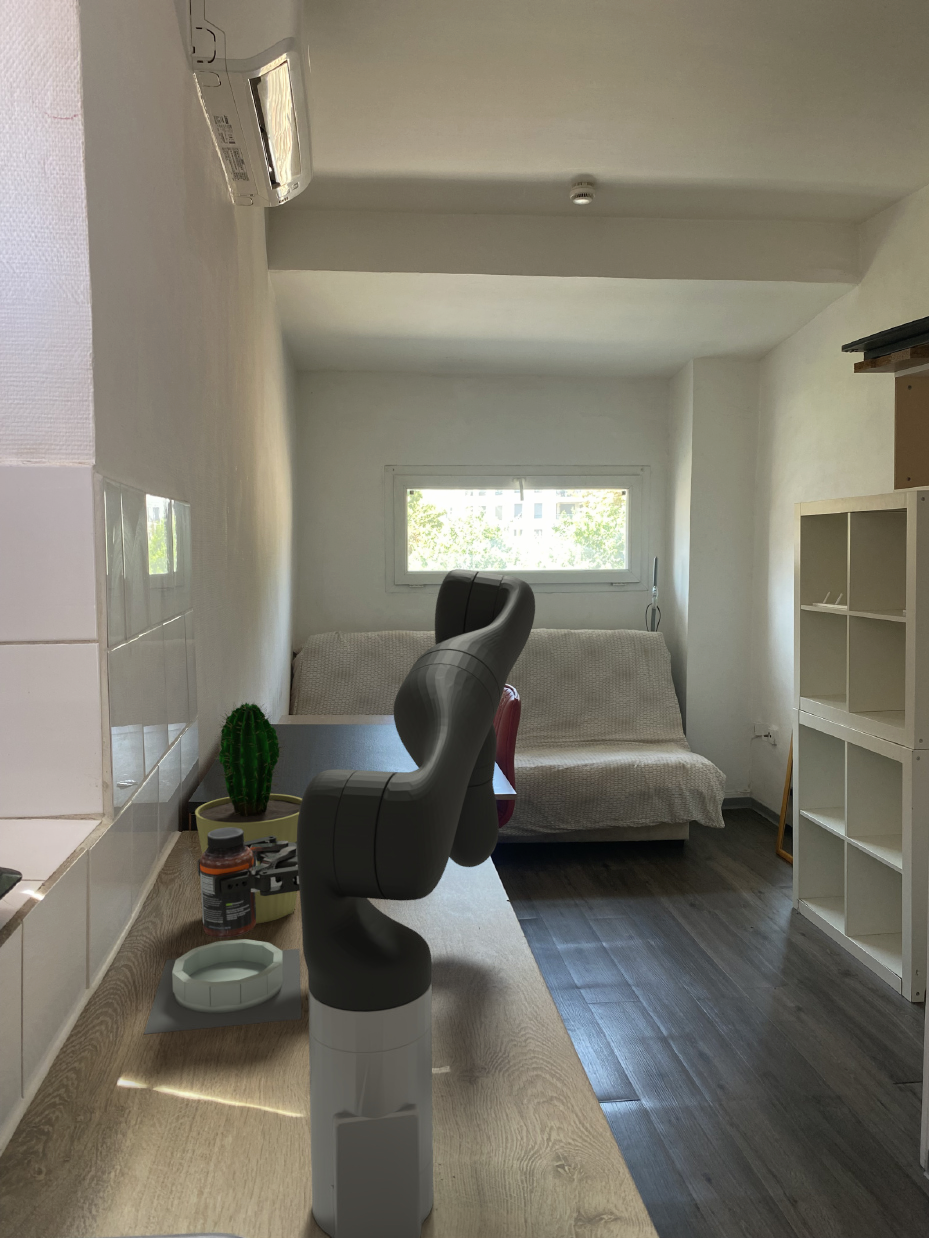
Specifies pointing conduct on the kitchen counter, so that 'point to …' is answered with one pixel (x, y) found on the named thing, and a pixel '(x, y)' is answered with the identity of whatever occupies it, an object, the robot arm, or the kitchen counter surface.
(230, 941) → the bowl
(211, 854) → the supplement bottle
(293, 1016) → the mat
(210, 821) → the potted cactus
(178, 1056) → the kitchen counter surface
